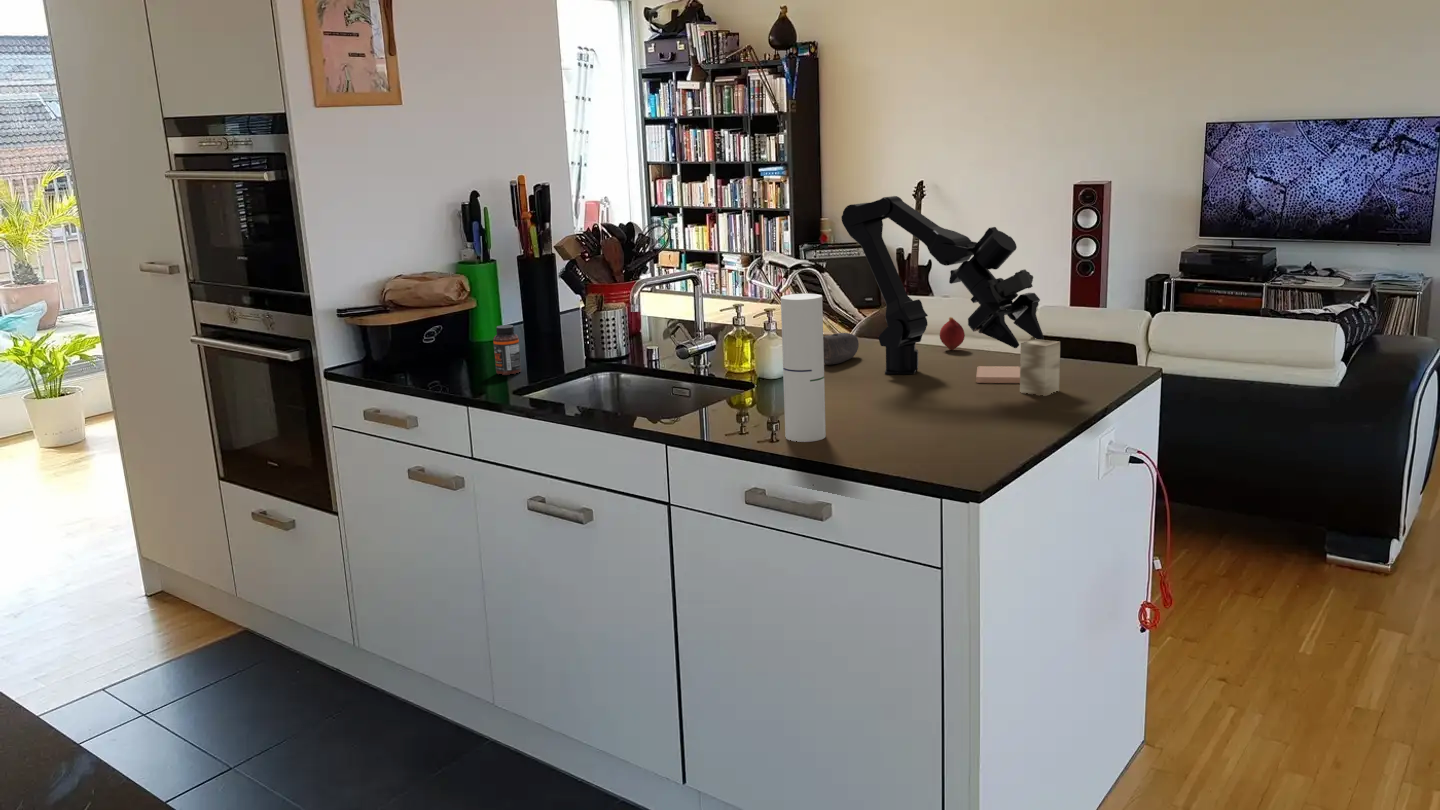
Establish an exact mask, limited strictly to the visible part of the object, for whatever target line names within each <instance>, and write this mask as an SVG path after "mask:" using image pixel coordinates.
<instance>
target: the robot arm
mask: <svg viewBox="0 0 1440 810" xmlns="http://www.w3.org/2000/svg"><path fill="white" fill-rule="evenodd" d="M886 219H889V220H890V221H891V222H893V223H895V224H896V225H898V226H899V227H900V228H902V229H903V230H904V231H906V232H907V233H909V234H910V235H912V236H913V237H915V238H916V239H918V240H919V241H921V242H922V243H923V244H924V245H925V246H926V248H927V250H928V252H929V254H930V255H931V256H932V257H933V258H934V259H935V260H936V261H937V263H939V264H941V265H942V266H946V267H947V266H952V265H957V264H959V266H958V268H955V269H951V270H950V271H949V272H950V274H949V284H951V285H952V284H956V283H962V285H963V286H964V287H965V288H966V289H967V290H968V292H969V293H970V294H971V296H972V297H971V298H970V301H971V302H972V303H973V304H976V303H978V304H979V306H978V307H977V308H976V309H975V310H974V311H973V313H971V315H969V317H967V326H968V327H969V329H971V331H972V332H978V334H983V335H986V336H988V337H989V338H992V339H995V340H997V341H999V342H1001V343H1003V344H1005V345H1008V346H1009V347H1012V348H1013V349H1018V347H1020V343H1019V342H1018V339H1017V337H1016V336H1015V335H1014V333H1013V332H1012V330H1011V328H1010V327H1009V325H1007V322H1006V321H1005V320H1006V319H1005V316H1007V318H1009V319H1010V320H1012V321H1013V324H1014V325H1015V326H1017V327H1018V328H1020V329H1021V330H1022V331H1024V332H1026V333H1027V334H1028V335H1030V336H1031V337H1033V338H1034V339H1040V340H1045V339H1044V338H1045V337H1044V334H1043V330H1042V329H1041V325H1040V323H1039V319H1038V316H1037V313H1036V312H1037V309H1038V307H1039V306H1040V305H1039V302H1041V299H1040V297H1039V296H1038V295H1037V294H1036V293H1035V292H1026V293H1021V294H1018V293H1020V292H1022V291H1024V290H1026V289H1030V288H1032V287H1033V284H1032V283H1033V281H1034V280H1033V279H1034V276H1033V275H1031V273H1030V271H1027V270H1026V269H1021V270H1019V271H1017V272H1015V273H1014V275H1012V276H1009V277H1007V278H1005V279H1004V278H1003V277H999V278H998V277H997V278H996V277H995V276H994V275H993V273H992V272H991V271H990V270H999V269H1000V267H1001V266H1003V264H1004V263H1005V262H1006V260H1008V259H1009V258H1010V256H1011V255H1012V254H1013V253H1014V252H1015V251H1016V250H1017V243H1016V242H1015V240H1014V238H1012V236H1010V235H1008V234H1006V233H1005V232H1003V231H1001V230H999V229H998V228H997V227H996V226H993V227H992V226H991V227H988V229H986V230H985V232H984V234H983V236H982V237H981V238H980V239H979V240H978V241H972V240H971V238H970V237H968V236H966V235H964V234H962V233H960V232H958V231H955V230H952V229H948V228H944V227H942V226H940V225H938V224H937V223H935V222H934V221H933V220H931V219H929V218H928V217H927V216H926V215H923V214H922V213H921V212H919V211H918V210H917V209H915V208H913V207H912V206H910V205H909V204H908V203H906V202H904V201H903V199H902V198H901V197H899V196H896V195H893V196H892V195H891V196H884V197H882V198H880V199H877V200H875V201H871V202H863V203H854V204H849V205H847V206H845V207H844V209H843V211H842V215H841V223H842V225H843V227H844V228H845V231H846V232H847V233H848V236H850V237H851V239H853V240H854V241H855V242H856V243H857V244H858V245H860V246H861V249H862V250H863V251H862V252H863V253H864V256H865V258H866V261H867V263H868V264H869V267H870V270H871V273H872V275H873V276H874V278H875V281H876V283H877V285H878V288H879V291H880V293H881V294H882V297H883V299H884V300H883V301H884V302H885V305H886V307H885V321H886V324H887V327H886V328H885V329H883V331H882V332H881V333H880V334H879V335H878V341H879V345H880V346H881V347H885V370H884V374H885V375H914V374H916V371H917V370H918V369H919V350H918V349H916V343H920V342H921V341H922V337H923V335H924V333H925V332H926V331H927V326H928V318H927V317H928V316H929V315H928V313H926V311H925V309H924V306H923V303H922V301H921V299H914V300H913V299H912V298H911V297H910V296H909V294H907V291H906V289H905V287H904V285H903V282H902V280H901V278H900V276H899V273H898V270H897V268H896V266H895V264H894V261H893V259H892V257H891V255H890V252H889V249H888V248H887V246H886V243H885V241H884V238H883V229H884V228H883V227H884V222H883V220H886Z"/></svg>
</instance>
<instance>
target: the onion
mask: <svg viewBox="0 0 1440 810" xmlns="http://www.w3.org/2000/svg"><path fill="white" fill-rule="evenodd" d="M965 336H966V334H965V331H964V328H963V326H962V325H961V323H959V322H958V321H957V320H956V319H955V318H954V317H952V316H950V317H949V318H948V321H947V322H946V323H945V324H943V326H942V327H941V328H940V330H939V339H940V341H941V343H942V344H943V345H944V346H945V347H946V348H948V350H949V351H954V350H955V349H956V348H958V347H959V346H961V345H962V343H963V342H964V340H965Z"/></svg>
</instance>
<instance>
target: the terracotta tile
mask: <svg viewBox="0 0 1440 810" xmlns="http://www.w3.org/2000/svg"><path fill="white" fill-rule="evenodd" d="M975 383H977V384H1020V365H1019V366H1018V365H1017V366H1011V365H1009V366H1007V365H1006V366H1004V365H1003V366H1001V365H997V366H995V365H993V366H987V365H986V366H985V365H984V366H981V365H979V366H977V369H976V378H975Z"/></svg>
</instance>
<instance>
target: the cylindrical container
mask: <svg viewBox="0 0 1440 810" xmlns="http://www.w3.org/2000/svg"><path fill="white" fill-rule="evenodd" d="M780 311H781V312H780V313H781V314H780V315H781V317H780V318H781V342H782V343H781V344H782V345H781V347H782V370H783V371H782V373H783V374H782V375H783V377H782V378H783V400H784V401H783V404H784V405H783V406H784V407H783V408H784V435H785V437H786V438H785V437H784V438H785V439H786V440H788V441H790V440H791V442H796V441H797V443H798V442H799V443H800V442H801V443H810V442H817V441H821V440H823V439H825V438H826V394H825V392H826V391H825V390H826V389H825V363H824V349H823V336H824V317H823V316H824V315H823V313H824V311H823V295H822V294H817V293H793V294H792V293H791V294H785V295H782V296H781V297H780Z"/></svg>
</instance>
